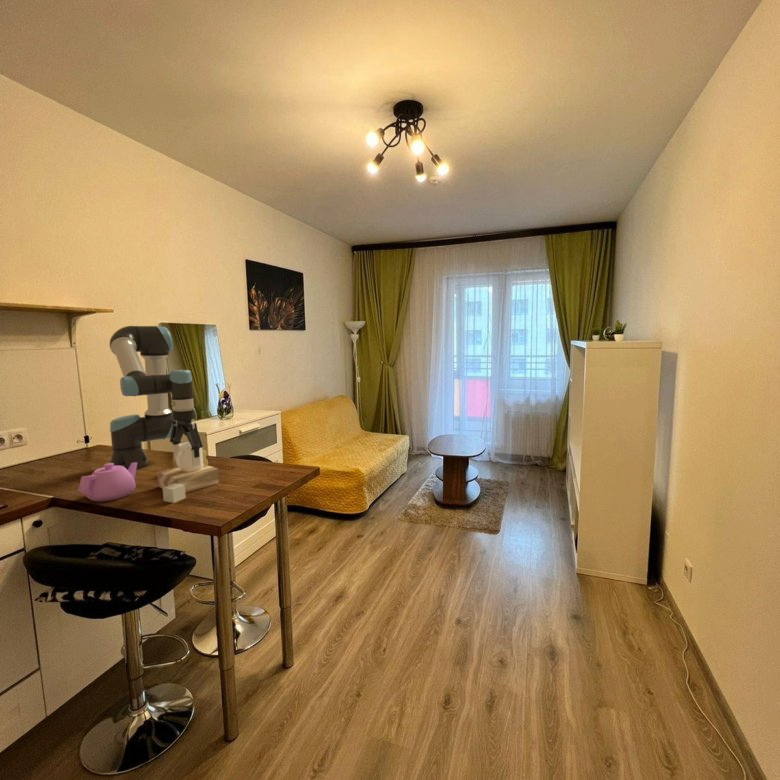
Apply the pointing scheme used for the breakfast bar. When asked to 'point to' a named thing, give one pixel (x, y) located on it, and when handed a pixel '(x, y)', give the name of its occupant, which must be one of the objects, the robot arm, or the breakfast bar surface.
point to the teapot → (109, 482)
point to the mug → (187, 458)
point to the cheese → (203, 459)
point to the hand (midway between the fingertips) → (187, 462)
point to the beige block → (174, 492)
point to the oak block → (189, 478)
